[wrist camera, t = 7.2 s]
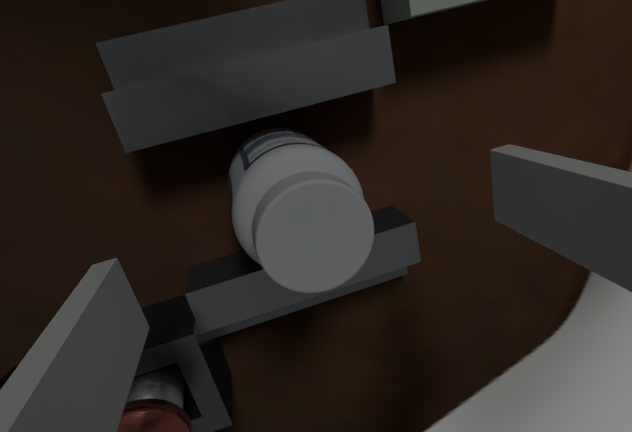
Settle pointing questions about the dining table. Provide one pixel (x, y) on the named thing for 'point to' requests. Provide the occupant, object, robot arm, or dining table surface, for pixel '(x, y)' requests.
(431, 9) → the tray
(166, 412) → the plunger
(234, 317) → the socket
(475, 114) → the dining table surface
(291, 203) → the pill bottle
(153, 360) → the block
